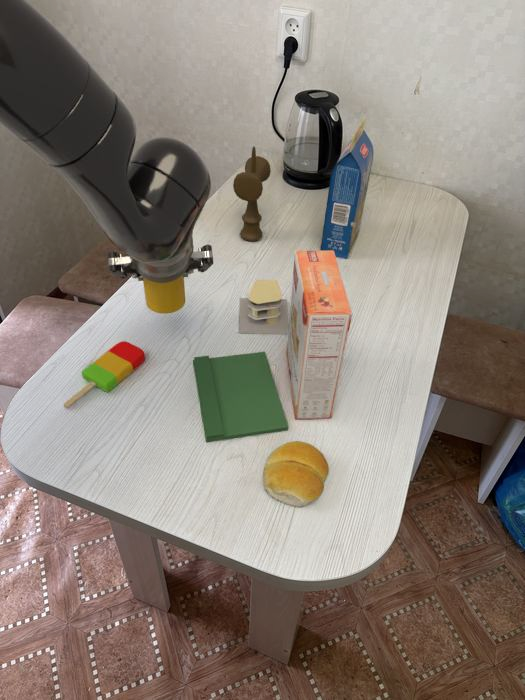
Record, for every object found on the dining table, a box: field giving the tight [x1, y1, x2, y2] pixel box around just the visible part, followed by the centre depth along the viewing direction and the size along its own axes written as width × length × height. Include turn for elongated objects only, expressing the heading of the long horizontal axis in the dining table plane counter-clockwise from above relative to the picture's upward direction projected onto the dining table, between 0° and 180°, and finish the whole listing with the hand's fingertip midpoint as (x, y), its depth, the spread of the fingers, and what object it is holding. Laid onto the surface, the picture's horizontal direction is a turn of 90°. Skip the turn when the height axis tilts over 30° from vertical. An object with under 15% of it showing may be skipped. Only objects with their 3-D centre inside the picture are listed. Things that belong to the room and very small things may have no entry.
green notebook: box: [192, 351, 289, 443], centre depth 78 cm, size 12×16×1 cm
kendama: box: [232, 146, 272, 242], centre depth 105 cm, size 6×10×20 cm, turn 167°
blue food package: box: [319, 115, 375, 259], centre depth 103 cm, size 6×12×25 cm, turn 160°
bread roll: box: [262, 440, 330, 508], centre depth 67 cm, size 8×9×4 cm
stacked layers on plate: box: [238, 279, 289, 335], centre depth 90 cm, size 10×9×6 cm
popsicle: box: [63, 340, 146, 409], centre depth 78 cm, size 6×15×2 cm, turn 147°
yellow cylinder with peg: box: [142, 274, 186, 315], centre depth 75 cm, size 6×6×10 cm
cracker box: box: [285, 250, 353, 420], centre depth 73 cm, size 14×6×21 cm, turn 3°
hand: (162, 272), depth 76 cm, fingers closed on yellow cylinder with peg, 6 cm apart
